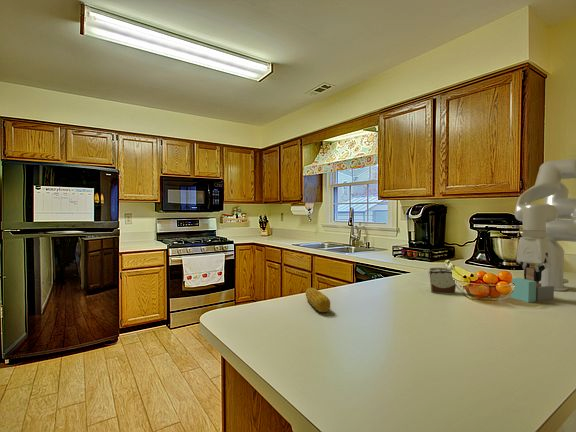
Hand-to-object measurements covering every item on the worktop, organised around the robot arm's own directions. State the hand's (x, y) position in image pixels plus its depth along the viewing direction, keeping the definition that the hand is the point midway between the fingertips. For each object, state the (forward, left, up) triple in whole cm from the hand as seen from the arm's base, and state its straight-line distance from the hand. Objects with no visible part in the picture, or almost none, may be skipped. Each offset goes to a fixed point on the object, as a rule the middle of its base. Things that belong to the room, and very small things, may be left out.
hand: (532, 279), depth 129 cm
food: (+88, -15, -8) cm, 90 cm away
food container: (+28, -19, -8) cm, 35 cm away
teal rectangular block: (+5, 0, -8) cm, 9 cm away
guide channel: (-4, 0, -8) cm, 9 cm away
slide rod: (+2, 0, -4) cm, 5 cm away
